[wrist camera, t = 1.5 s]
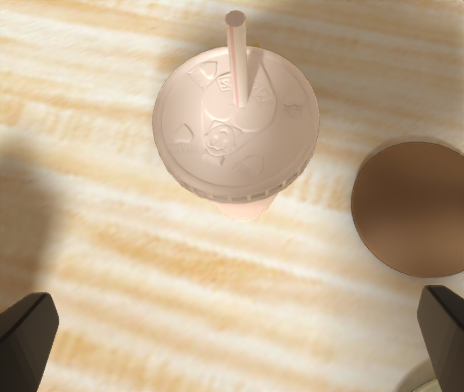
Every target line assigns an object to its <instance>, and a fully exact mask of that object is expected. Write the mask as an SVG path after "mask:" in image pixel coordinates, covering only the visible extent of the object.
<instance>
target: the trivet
mask: <svg viewBox="0 0 464 392" xmlns="http://www.w3.org/2000/svg"><path fill="white" fill-rule="evenodd" d="M351 210H352V216H353V221H354V224H355V227H356V229H357V232H358V234H359V236H360V237H361V239H362V241H363V242H364V244H365V245H366V246H367V248H368V249H369V250H370V251H371V252H372V253H373V254H374V255H375V256H376V257H377V258H378V259H379V260H381V261H382V262H383V263H385V264H386V265H388V266H390V267H391V268H393V269H395V270H397V271H400V272H402V273H405V274H408V275H412V276H416V277H424V278H437V277H444V276H450V275H453V274H457V273H460V272H462V271H464V156H462V155H460V154H459V153H457V152H455V151H453V150H451V149H449V148H447V147H444V146H441V145H437V144H433V143H427V142H408V143H401V144H398V145H394V146H392V147H389V148H387V149H385V150H383V151H381V152H380V153H378V154H377V155H376V156H374V157H373V158H372V159H371V160H370V161H369V162H368V163H367V164H366V166H365V167H364V168H363V170H362V171H361V172H360V174H359V176H358V178H357V180H356V182H355V185H354V187H353V192H352V197H351Z"/></svg>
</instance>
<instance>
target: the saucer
mask: <svg viewBox="0 0 464 392" xmlns="http://www.w3.org/2000/svg"><path fill="white" fill-rule="evenodd" d="M412 392H442V391H441V388H440V386H439V383H438V381H437V378H436V379H433V380H431V381H429V382H427V383H425V384H423V385H421V386H420V387H418V388H416V389H415V390H413V391H412Z"/></svg>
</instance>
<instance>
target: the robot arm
mask: <svg viewBox="0 0 464 392" xmlns="http://www.w3.org/2000/svg"><path fill="white" fill-rule="evenodd" d="M417 318H418V322H419V325H420V328H421V332H422V335H423V338H424V341H425V344H426V347H427V350H428V353H429V356H430V360H431V363H432V366H433V369H434V372H435V375H436V378H437V381H438V383H439V386H440V388H441V391H442V392H464V299H463V298H462V297H460V296H459V295H457V294H456V293H454V292H453V291H451V290H450V289H448V288H447V287H445V286H443V285H427V286H425V287H424V288H423V290H422V294H421V298H420V302H419V306H418V311H417ZM58 326H59V316H58V313H57V310H56V307H55V305H54V302H53V299H52V297H51V295H50V294H49V293H47V292H36V293H31V294H29V295H27V296H26V297H24V298H23V299H21V300H20V301H18V302H17V303H16V304H14V305H13V306H11V307H10V308H8V309H7V310H5V311H4V312H2V313H1V314H0V392H37V390H38V387H39V385H40V382H41V379H42V376H43V373H44V370H45V367H46V364H47V360H48V357H49V354H50V351H51V348H52V345H53V342H54V338H55V335H56V332H57V329H58Z"/></svg>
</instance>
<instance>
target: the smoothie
mask: <svg viewBox="0 0 464 392" xmlns="http://www.w3.org/2000/svg"><path fill="white" fill-rule="evenodd" d="M225 23H226V33H227V43H228V46H223V47H218V48H214V49H211V50H207V51H205V52H202V53H200V54H198V55H196V56H194V57H192V58H191V59H189V60H187V61H186V62H185V63H183V64H182V65H181V66H179V67H178V68H177V69H176V70H175V71H174V72H173V73H172V74H171V75H170V77H169V78H168V79H167V80H166V82H165V83H164V85H163V86H162V88H161V90H160V92H159V94H158V97H157V99H156V102H155V106H154V110H153V118H152V127H153V135H154V140H155V143H156V146H157V149H158V151H159V155H160V157H161V159H162V161H163V163H164V165H165V167H166V169H167V170H168V172H169V173H170V174H171V175H172V176H173V177H174V178H175V180H176V181H177V182H178V183H179V184H180V185H181V186H182V187H184V188H185V189H187V190H189V191H190V192H192V193H194V194H195V195H197V196H199V197H200V198H204V199H207V200H208V201H209V202H210V203H212V204H213V205H214V206H215V207H216V208H217V209H218V210H219V211H220V212H221V213H222V214H223V215H224V216H226V217H227V218H229V219H232V220H235V221H250V220H253V219H256V218H258V217H259V216H261V215H262V214H263V213H264V212H265V211H266V210H267V209H268V207H269V206H270V205H271V203H272V202H273V200H274V199H275V197H276V196H277V194H278V193H279V192H280V191H282V190H284V189H286V188H287V187H288V186H289V185H290V184H291V183H292V182H293V181H294V180H296V179H297V178H298V177H299V176H300V175H301V174H302V172H303V171H304V169H305V168H306V166H307V164H308V163H309V161H310V159H311V158H312V156H313V152H314V149H315V145H316V141H317V137H318V131H319V124H320V114H319V106H318V102H317V98H316V95H315V93H314V90H313V88H312V86H311V85H310V83H309V81H308V80H307V78H306V77H305V76H304V74H303V73H302V72H301V71H300V70H299V69H298V68H297V67H296V66H295V65H294V64H292V63H291V62H290V61H288V60H287V59H285V58H284V57H282V56H280V55H278V54H276V53H274V52H271V51H269V50H266V49H262V48H258V47H253V46H247V45H246V17H245V15H244V13H242V12H241V11H236V10H235V11H231V12H229V13H228V14H227V15H226V17H225Z"/></svg>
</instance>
